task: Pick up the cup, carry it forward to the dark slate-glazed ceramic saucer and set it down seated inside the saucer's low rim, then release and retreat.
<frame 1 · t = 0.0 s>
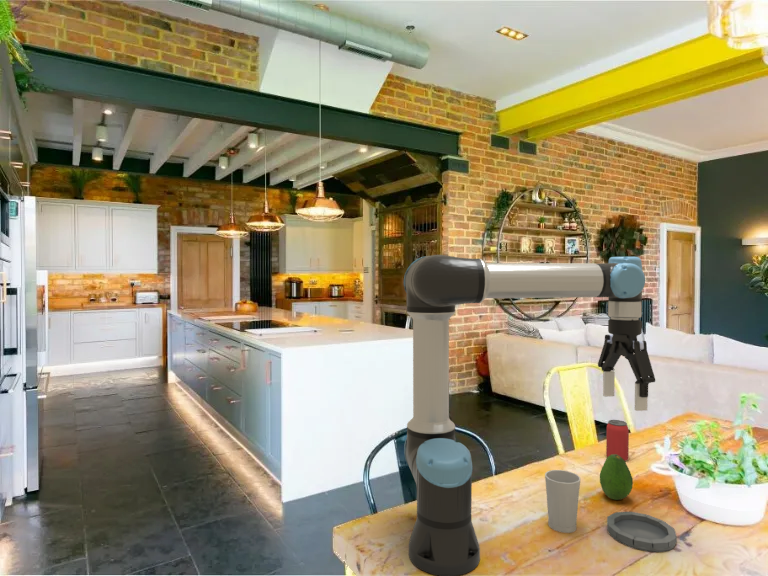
hand: (623, 402, 123), 28 cm above the table, fingers open, 13 cm apart
cup: (562, 526, 117), on the table
saucer: (640, 535, 113), on the table
beer can: (617, 459, 160), on the table
fruit: (615, 499, 131), on the table
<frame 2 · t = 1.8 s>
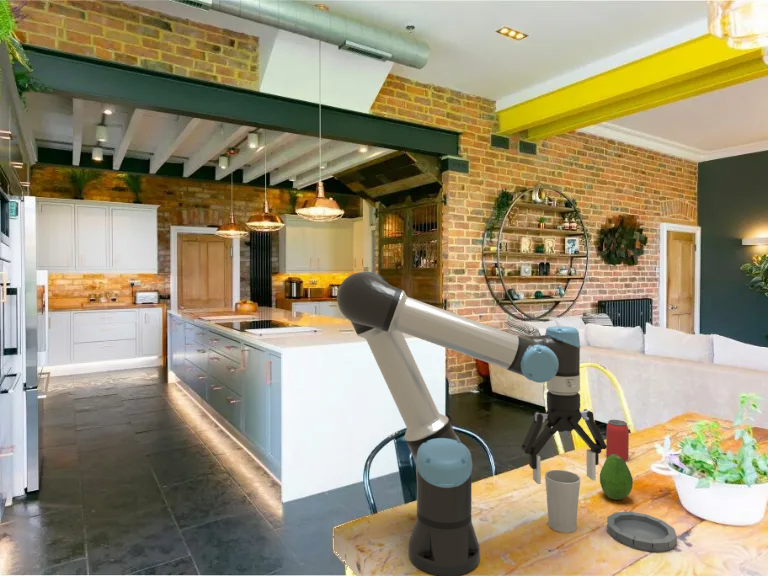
hand: (564, 480, 117), 11 cm above the table, fingers open, 13 cm apart
nothing on the table moved.
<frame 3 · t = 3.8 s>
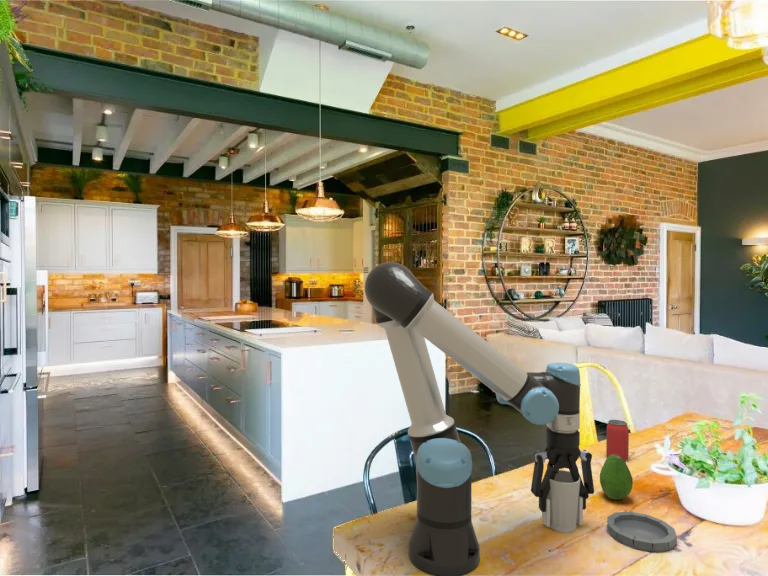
hand: (562, 523, 117), 1 cm above the table, fingers closed on cup, 7 cm apart
cup: (562, 526, 117), on the table, touching gripper
everything else where it was.
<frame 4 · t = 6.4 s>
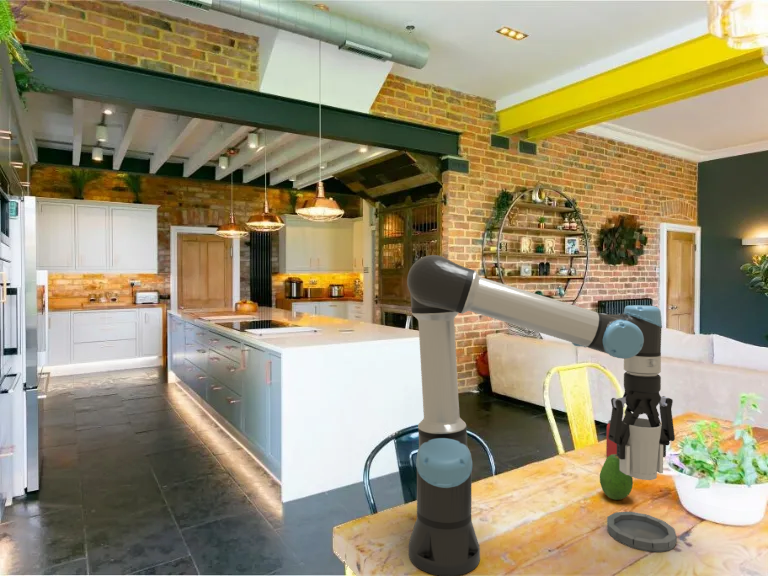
hand: (641, 471, 113), 15 cm above the table, fingers closed on cup, 7 cm apart
cup: (641, 475, 113), point 14 cm above the table, touching gripper
everything else where it was.
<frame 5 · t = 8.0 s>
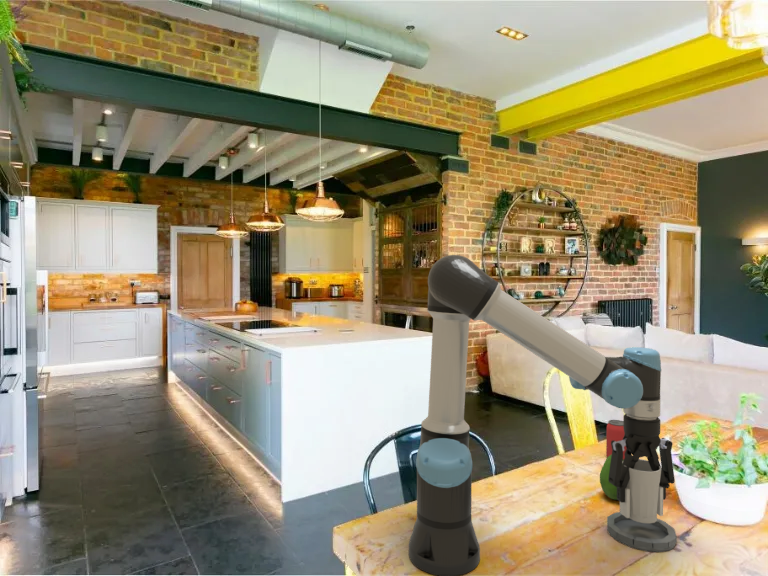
hand: (641, 513, 113), 5 cm above the table, fingers closed on cup, 7 cm apart
cup: (641, 517, 113), point 4 cm above the table, touching gripper
everything else where it was.
when the fingers open (3 cm above the table, at t = 9.3 s): cup drops 1 cm, resting on saucer.
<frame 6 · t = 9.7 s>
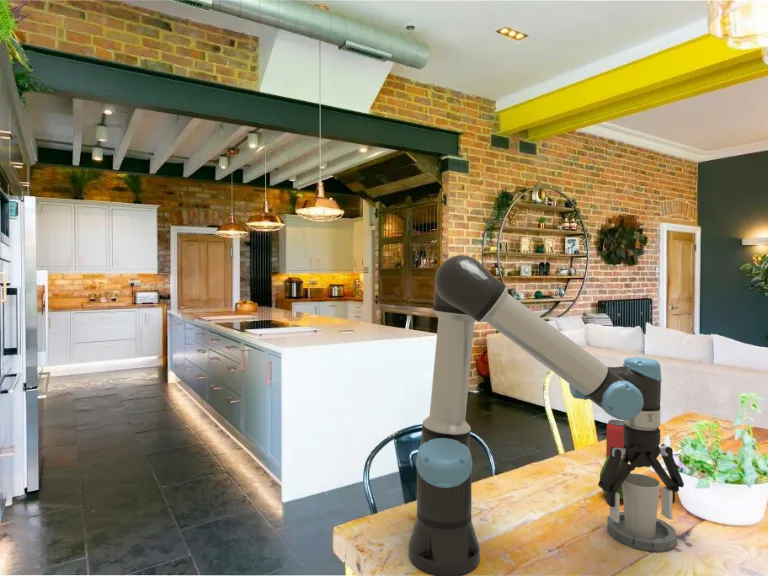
hand: (640, 518, 113), 4 cm above the table, fingers open, 12 cm apart
cup: (640, 532, 113), point 1 cm above the table, touching saucer
everything else where it was.
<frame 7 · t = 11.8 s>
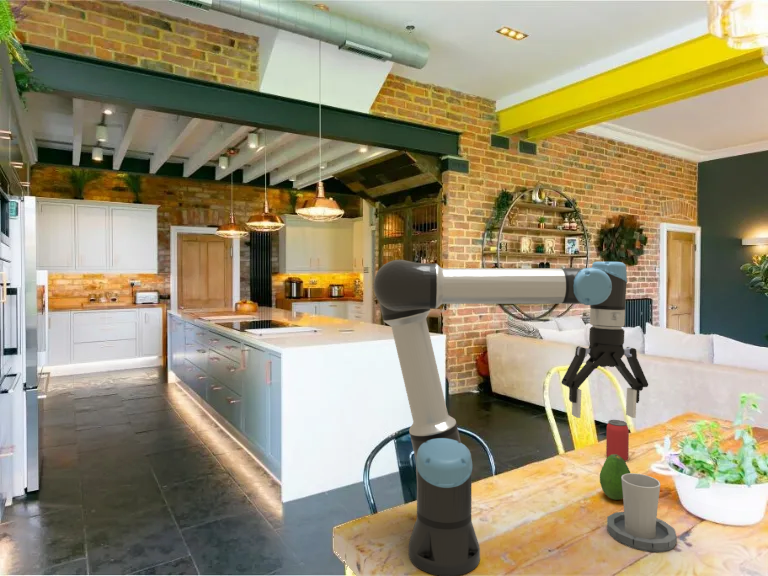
hand: (603, 416, 116), 27 cm above the table, fingers open, 13 cm apart
nothing on the table moved.
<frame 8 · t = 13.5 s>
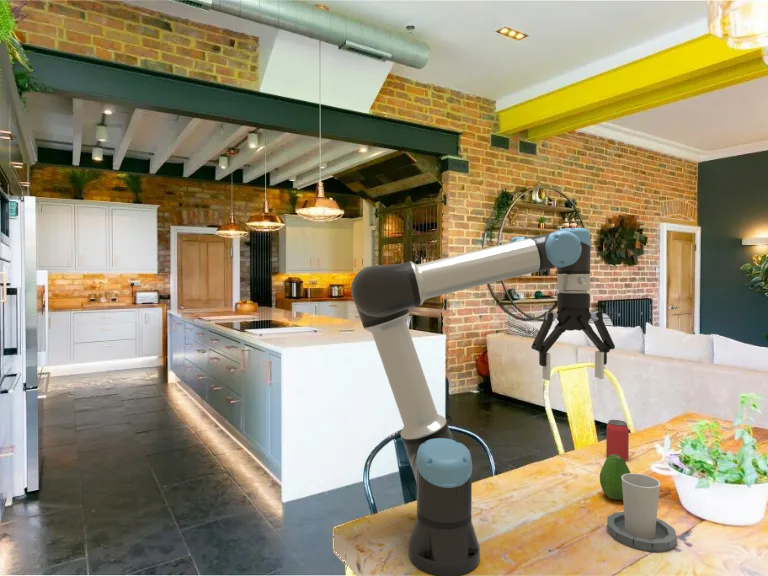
hand: (572, 378, 120), 35 cm above the table, fingers open, 13 cm apart
nothing on the table moved.
at the end: cup 0.1 cm from the saucer (horizontally); cup tilted 0°; cup point 0.6 cm above the table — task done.
